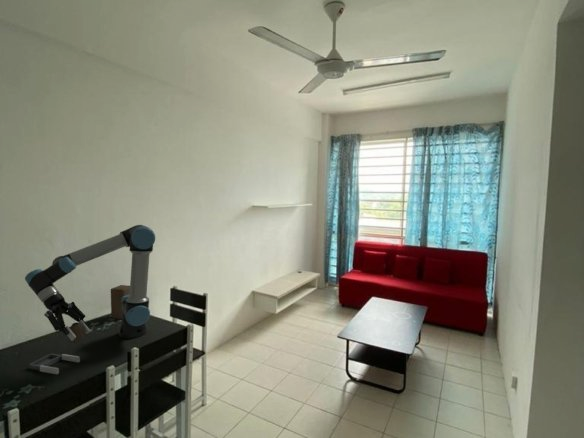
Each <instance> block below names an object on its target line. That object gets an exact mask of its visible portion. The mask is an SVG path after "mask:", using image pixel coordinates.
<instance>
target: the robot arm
mask: <svg viewBox="0 0 584 438" xmlns="http://www.w3.org/2000/svg"><path fill="white" fill-rule="evenodd" d="M155 242H156V234H155V232H154V231H153V229H152V228H150V227H148V226H146V225H143V224H136V225H134V226H131V227H128V228H126V229H124V230H123V231H119V233H118V234H117V235H114V236H111V237H108V238H106V239H104V240H101V241H99V242H96V243H94V244H91V245H88V246H85V247H83V248H80V249H78V250H74V251H72V252H70V253H68V254H67V253H66V254H65V255H60V256H56V257H55V258H54V259H53V261H52V263H51V265H50V266H49V267H47V268H45V269H43V270H42V268H37V269H34V270H31V271H30V272H28V273H27V274H26V275H25V277H24V280H25V282H26V284H27V285H28V287H29V288H30V289H31V290H32V291H33V292H34V293H35V295H36V296H37V298H38V299H39V300H40V301H41V303H43V305H44V307H45V308H46V309H47V311H46V312H44V313H43V314H44V315H43V316H44V317H46V318H47V319H48V321H49V323H50V324H51V326H52V328H53V329H54V330H55V331H56V332H57V331H58V332H62V333H63V334H64V336H66V337H67V336H68V337H69V338H70V340H71V341H73V340H74V339H75V338H76V336H75V334H74V333H73V332H72V331H71V329H70V327H69V325H66V323H65V320H64V317H63V315H66V316H69V317H70V318H71V319H73V320H74V321H75V322H76V323H79V325H80V326H82V327H83V329H84V335H87V334H89V332H90V331H91V329H90V328H89V327H88V326H87V325H88V324H87V322H86V321H85V320H84V319H85V318H86V315H85V313H83V311H81V310H80V308H78V306H77V305H76V303H75V302H74V301H71V302H70V303H68V302H67V301H66V300H65V298H64V296H63V295H62V293H60V291H59V290H58V288H57V287H56V285H54V283H56V282H57V281H59V280H60V279H62V278H64V277H65V276H67V275H68V274H70V273H72V272H73V271H74V270H76V268H77V266H79V265H80V266H81V265H82V264H85V263H87V262H90V261H92V260H94V259H97V258H99V257H103V256H105V255H107V254H110V253H113V252H115V251H117V250H119V249H122V248H129V250H128V251H130V252H131V267H130V280H129V281H130V283H129V284H130V285H129V286H130V295H125V296H123V297H122V301H121V302H122V319H121V325H120V328H119V330H118V336H119V337H120V338H122V339H135V338H138V337H141V336H144V335H145V334H147V333H148V325H147V322H148V321H149V319H150V317H151V310H150V309H149V307H150V298H149V297H148V296H147V294H148V280H149V278H148V277H149V264H150V254H151V253H152V252H153V250H154V244H155ZM130 252H129V253H130Z"/></svg>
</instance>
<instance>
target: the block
mask: <svg viewBox="0 0 584 438" xmlns="http://www.w3.org/2000/svg"><path fill="white" fill-rule="evenodd" d="M125 295H130V285H127V284H126V285H124V284H121V285H117V286H115V287H112V288H111V289H110V313H111V315H110V316H111V319H112V318H113V319H119V318H120V319H121V320H122V302H121V301H122V297H123V296H125Z"/></svg>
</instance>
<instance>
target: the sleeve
mask: <svg viewBox="0 0 584 438" xmlns="http://www.w3.org/2000/svg"><path fill="white" fill-rule="evenodd" d="M61 355H62V360H61V361H69V362H74V363H80V362H81V358H80V356H78V355H72V354H66V353H63V354H61ZM39 372H42V373H47V374H53V375H58V374H60V368H59V367H54V366H43V365H41V366H40V371H39Z"/></svg>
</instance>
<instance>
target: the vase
mask: <svg viewBox="0 0 584 438" xmlns="http://www.w3.org/2000/svg"><path fill="white" fill-rule="evenodd" d="M69 328H70V329H71V331H72V332H73V333H74V334H75V336H76V338H75V339H74V340H73V341H71V340H70V338H69V337H68V336H67V335H66V340H67V341H68V343H69V344H73V345H74V344H78V343H80V342H82V341H83V340H84V337H85V333H84V329H83V327H82V326H80V325H79V322H73V323H72V324H71V326H70V327H69Z"/></svg>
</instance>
